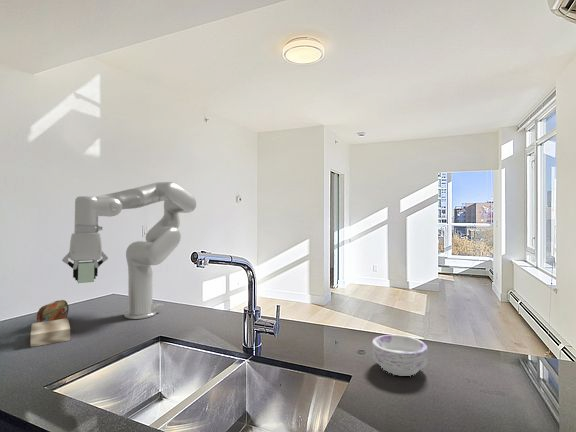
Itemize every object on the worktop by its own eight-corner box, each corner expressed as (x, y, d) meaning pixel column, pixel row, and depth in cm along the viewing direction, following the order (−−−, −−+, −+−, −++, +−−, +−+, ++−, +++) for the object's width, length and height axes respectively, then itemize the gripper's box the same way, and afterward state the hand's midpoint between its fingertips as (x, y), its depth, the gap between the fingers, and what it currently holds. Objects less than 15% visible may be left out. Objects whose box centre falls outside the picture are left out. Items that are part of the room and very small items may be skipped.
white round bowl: (380, 354, 110) (380, 329, 110) (431, 366, 102) (431, 339, 102) (364, 373, 97) (365, 345, 97) (421, 388, 89) (422, 358, 89)
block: (92, 279, 131) (92, 261, 131) (94, 282, 127) (94, 263, 127) (76, 281, 128) (77, 262, 128) (78, 283, 124) (78, 263, 124)
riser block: (68, 328, 131) (67, 318, 131) (70, 340, 120) (70, 328, 120) (31, 334, 125) (31, 323, 125) (30, 347, 113) (30, 335, 113)
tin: (43, 330, 129) (43, 308, 129) (34, 330, 129) (34, 307, 129) (69, 317, 144) (69, 297, 144) (62, 317, 144) (61, 297, 144)
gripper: (110, 229, 136) (109, 275, 136) (58, 229, 126) (57, 279, 126) (113, 230, 130) (112, 278, 130) (59, 230, 120) (58, 283, 120)
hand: (85, 278), depth 128 cm, fingers closed on block, 5 cm apart
